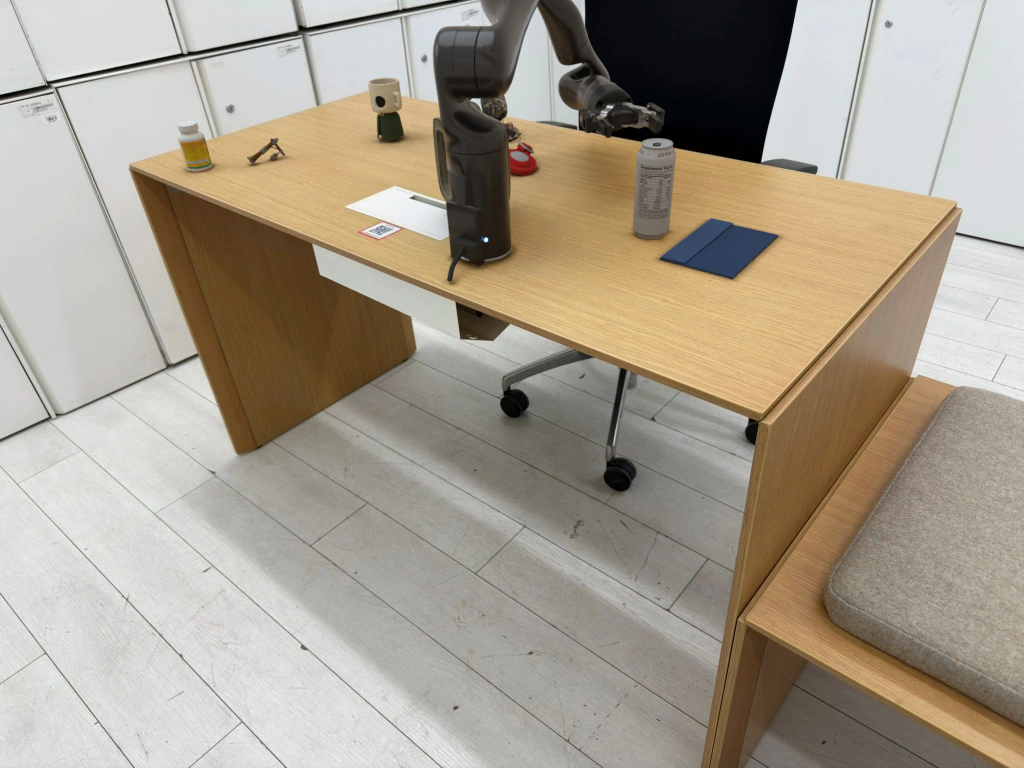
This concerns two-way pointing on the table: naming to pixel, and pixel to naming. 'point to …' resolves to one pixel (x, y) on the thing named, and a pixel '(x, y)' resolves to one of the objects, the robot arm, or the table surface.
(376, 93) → the character mug
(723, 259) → the open blue folder
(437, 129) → the tall jug with handle
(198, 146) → the supplement bottle
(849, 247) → the table surface
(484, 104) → the plant with pod
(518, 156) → the tracker holder
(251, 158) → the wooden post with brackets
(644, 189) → the energy drink can
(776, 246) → the table surface
